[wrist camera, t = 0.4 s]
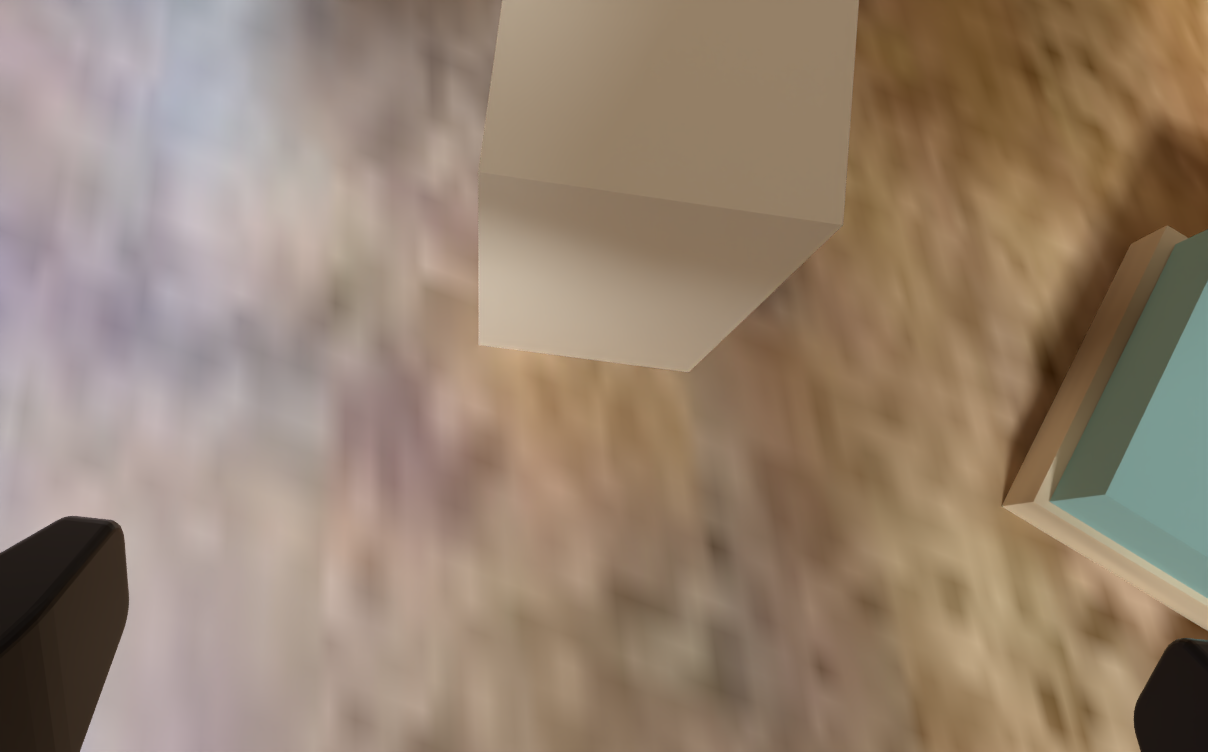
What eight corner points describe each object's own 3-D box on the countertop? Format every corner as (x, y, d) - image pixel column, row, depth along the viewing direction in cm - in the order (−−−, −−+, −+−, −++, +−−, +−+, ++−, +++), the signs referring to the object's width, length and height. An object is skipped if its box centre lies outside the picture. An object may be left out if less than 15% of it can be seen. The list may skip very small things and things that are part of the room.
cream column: (688, 372, 23) (843, 224, 13) (478, 345, 23) (478, 172, 13) (707, 175, 24) (866, -100, 14) (505, 145, 23) (524, -161, 14)
